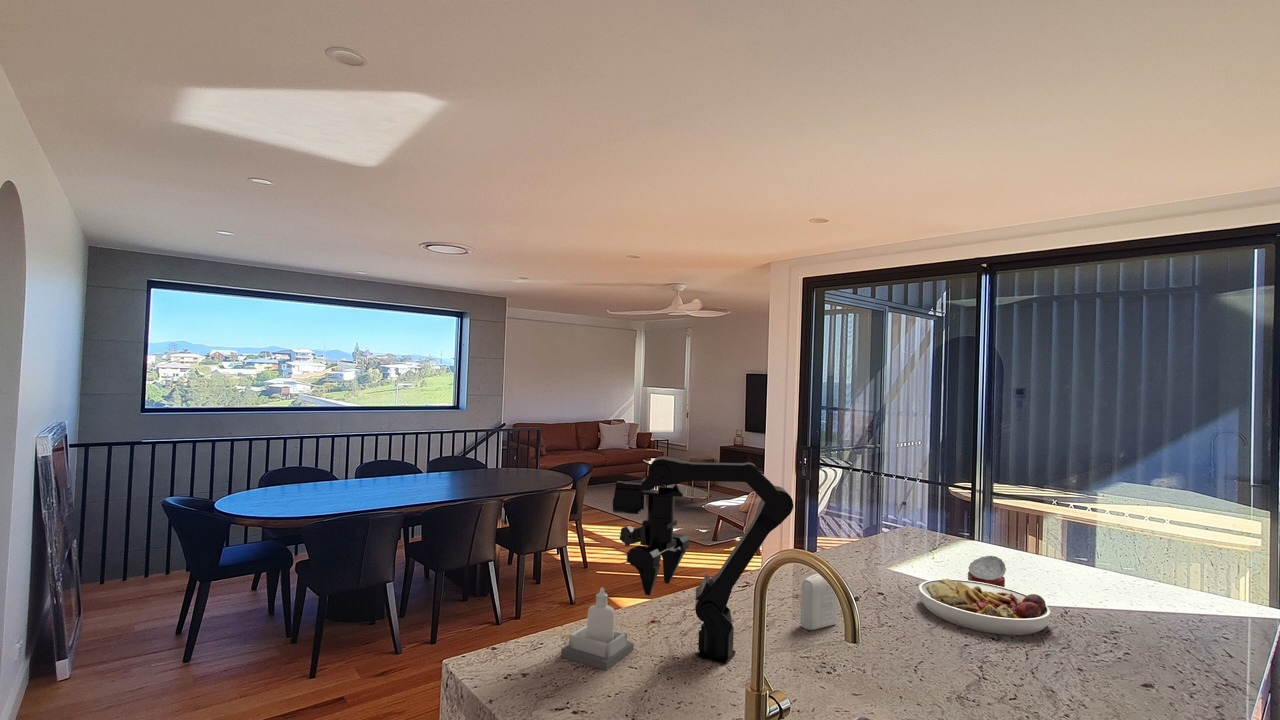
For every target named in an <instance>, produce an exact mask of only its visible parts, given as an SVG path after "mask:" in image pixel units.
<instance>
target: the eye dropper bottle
mask: <svg viewBox="0 0 1280 720" xmlns="http://www.w3.org/2000/svg"><path fill="white" fill-rule="evenodd" d="M608 596H609V595H608V593H607V592H605V587H600V590H599V592H598V593H596V595H595V604H593V605H591V606H590V607H589V608H588V609H587V620H586V621H587V622H586V625H587V638H589V639H593V640H596V641H600V642H603V643H607V644H608V643H609V642H611V641H612V640H614V630H615V615H616V614H615V613H616V612H615V609H614V608H613V606H610V605H608Z"/></svg>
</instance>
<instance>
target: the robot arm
mask: <svg viewBox="0 0 1280 720" xmlns="http://www.w3.org/2000/svg"><path fill="white" fill-rule="evenodd" d="M647 472H648V473H647V475H646V476H645V478H644V477H643V478H642V480H641V482H628V481H622V480H618V481H616V483H615V488H614V494H613V495H614V496H613V498H612V513H614V514H615V513H616V514H625V515H626V514H628V515H640V512H642V511H645V509H646V501H647V515H646V516H647V517H646V518H647V519H644V520H643V521H642V525H639V526H634V527H633V526H631V525H628V526H624V527H621V529H620V532H619V534H620V536H619V540H620V541H621V542H622V543H623V544H624V546H625V547H628V546H631V545H633V544H637V543H640V544H639V545H637V546H634V547H632V548H630V549H629V550H628V551H626V563H628V564H630V565H631V567H634V568H635V569H636V570H637V571H638V574H639V577H640V580H641V584H642V585H641V586H642V588H643V592H644V595H645V596H650V597H651V595H652V592H653V590H654V586H655V584H656V580H657V577H658V575H659V572H660V568H661V564H660V562H661V560H662V569H663V570H662V571H663V581H664V584H668V585H669V584H670V583H671V581H672V579H673V577H674V575H675V573H676V570H677V569H678V567H679V566H680V565H679V564H680V563H681V561H682V558H683V557H684V555H685V554H686V552H687V550H688V549H689V546H690V544H689V543H690V539H689V538H688V536H686V535H685V534H681V533H677V532H675V533H674V527H675V526H677V525H678V520H677V519H676V520H675V519H674V517H675V516H674V515H675V500H676V499H675V497H676V498H677V497H678V498H679V497H680V498H682V497H683V496H684V490H682V489H681V488H680V486H679V485H678V484H683V483H687V482H727V483H729V482H730V483H734V482H735V483H746V484H747V485H748V486H749V487H750V488H751V489H752V491H754V492H755V493H756V495H758V497H759V498H760V500H759V502H758V505H757V508H756V511H755V514H754V517H753V519H752V521H751V523H750V524H749V526H748V528H747V529H746V530H745V531H744V533H743V535H742V536H741V537H740V540H738V542H737V544H736V545H735V546H734V548H733V550H732V551H731V552H730V554H729V556H728V557H727V558H726V560H725V562H724V563H723V565H722V566H721V568H720V569H719V571H718V572H717V573H715V574H714V576H712V577H710V576H709V575H708V574H705V575H704V576H703V579H702V581H701V583H700V585H699V586H697V587H696V588H695V598H694V600H695V603H694V607H695V609H694V611H695V614H696V617H697V619H699V620H700V621H701V622H702V624H701V625H700V630H699V631H698V642H697V643H698V645H697V650H698V651H699V652H698V653H697V655H696V657H697V658H700V659H704V660H706V661H710V662H714V663H718V664H722V665H726V664H728V663H729V661H731V659H732V658H733V657H734V656H735V655H736V651H737V650H736V651H735V650H734V635H735V634H734V629H735V628H734V625H733V619H732V612H731V609H730V608H729V607H728V606H727V605H728V602H729V600H730V596H731V593H732V590H733V589H734V586H735V584H736V583H737V582H738V580H739V579H740V577H741V576H742V574H743V573H744V571H745V570H746V568H747V567H748V565H749V564H750V562H751V561H752V559H753V558H754V556H755V555H756V553H757V552H758V550H759V549H760V547H761V546H762V544H763V542H764V541H765V540H766V538H767V537H768V535H769V534H770V533H771V532H772V531H773V530H775V529H776V528H777V527H779V526H780V525H781V524H782V523H783V522H785V520H786V519H787V518H788V517H789V516H790V515H791V513H792V512H793V509H794V501H793V499H792V496H791V495H790V494H789V492H787V490H786V489H785V488H784V487H781V486H779V485H774V484H773V483H772V482H771V481H770V480H769V479H768V478H767V476H765V475H764V474H763V473H762V472H761V471H760V470H759V468H758V467H757V466H756V465H755V463H752V462H748V461H747V462H697V461H695V462H694V461H688V460H684V459H680V458H675V457H670V456H666V455H662V456H657V457H655V459H654V460H653V461H652V462H651V464H650V465H649V467H648V471H647ZM672 485H673V486H672ZM657 486H658V490H657V489H656V490H655V489H654V488H655V487H657ZM646 495H647V498H646ZM646 499H647V500H646ZM661 557H662V558H661Z"/></svg>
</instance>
